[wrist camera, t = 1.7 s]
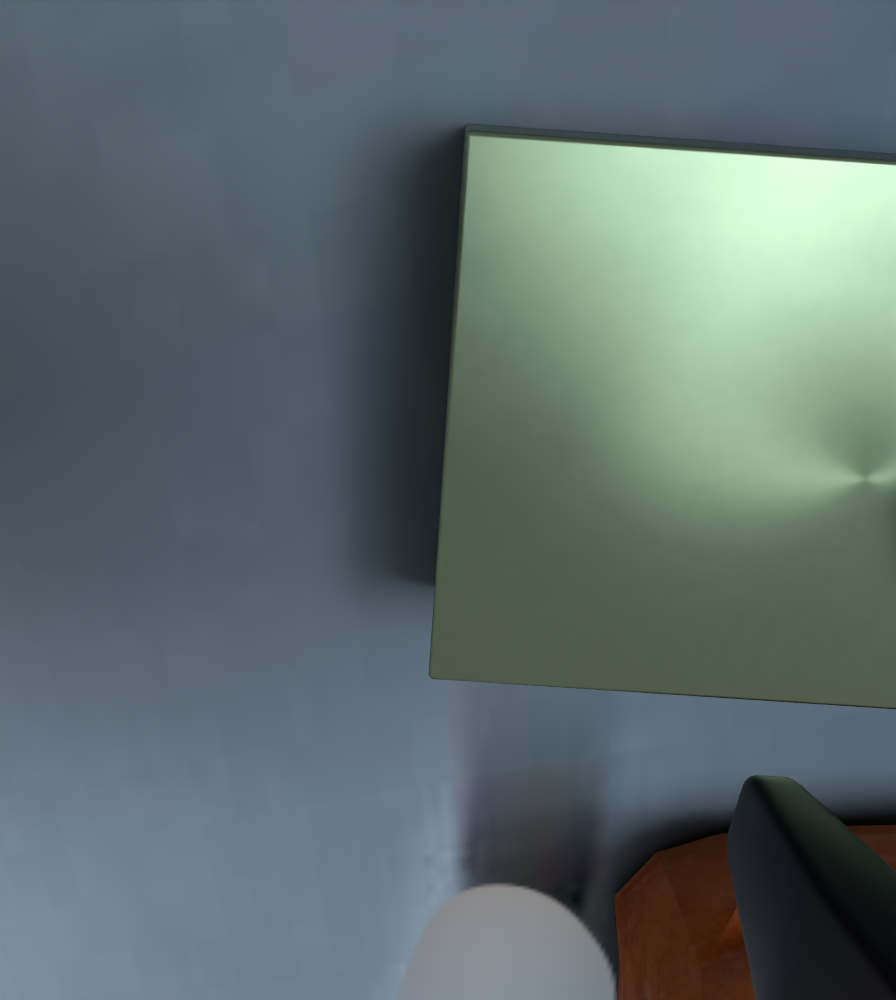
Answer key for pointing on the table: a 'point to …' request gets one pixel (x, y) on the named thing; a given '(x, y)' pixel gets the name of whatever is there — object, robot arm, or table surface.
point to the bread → (694, 923)
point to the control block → (671, 420)
